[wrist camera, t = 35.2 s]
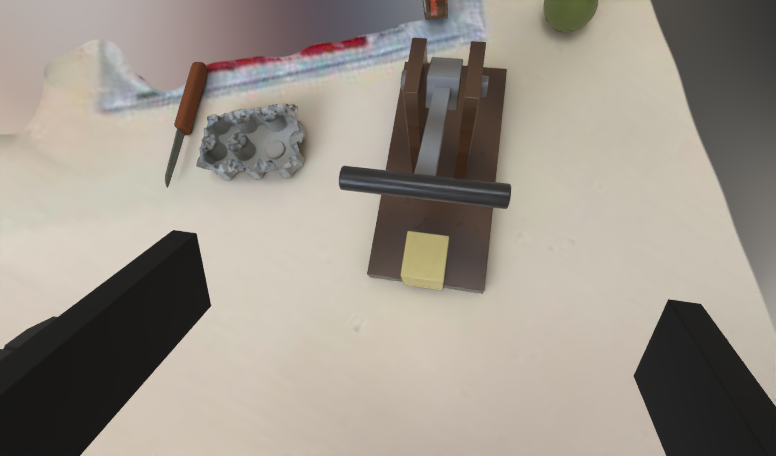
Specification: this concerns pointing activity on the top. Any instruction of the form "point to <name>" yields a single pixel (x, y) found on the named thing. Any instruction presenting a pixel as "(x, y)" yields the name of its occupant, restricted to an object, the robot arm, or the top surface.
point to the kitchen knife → (186, 112)
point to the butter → (424, 260)
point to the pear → (569, 13)
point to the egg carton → (253, 142)
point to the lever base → (443, 170)
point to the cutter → (431, 155)
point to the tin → (435, 9)
